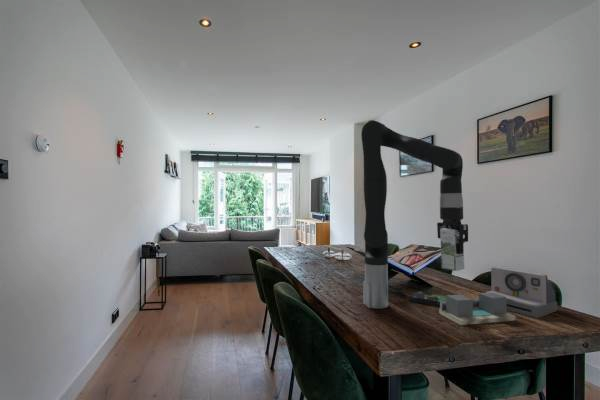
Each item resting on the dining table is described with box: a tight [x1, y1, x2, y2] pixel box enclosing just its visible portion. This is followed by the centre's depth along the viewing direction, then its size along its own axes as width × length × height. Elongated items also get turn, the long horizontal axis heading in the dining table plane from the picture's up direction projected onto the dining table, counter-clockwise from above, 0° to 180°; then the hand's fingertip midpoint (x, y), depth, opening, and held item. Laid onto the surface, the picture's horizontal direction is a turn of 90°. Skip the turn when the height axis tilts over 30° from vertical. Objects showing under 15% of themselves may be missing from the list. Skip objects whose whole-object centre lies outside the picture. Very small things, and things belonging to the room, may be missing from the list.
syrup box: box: [439, 228, 466, 272], centre depth 114 cm, size 6×6×14 cm
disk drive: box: [408, 291, 446, 308], centre depth 136 cm, size 10×3×15 cm
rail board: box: [438, 292, 516, 326], centre depth 117 cm, size 22×12×8 cm, turn 101°
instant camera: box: [485, 266, 558, 319], centre depth 128 cm, size 21×21×15 cm
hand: (452, 252), depth 114 cm, fingers closed on syrup box, 7 cm apart
